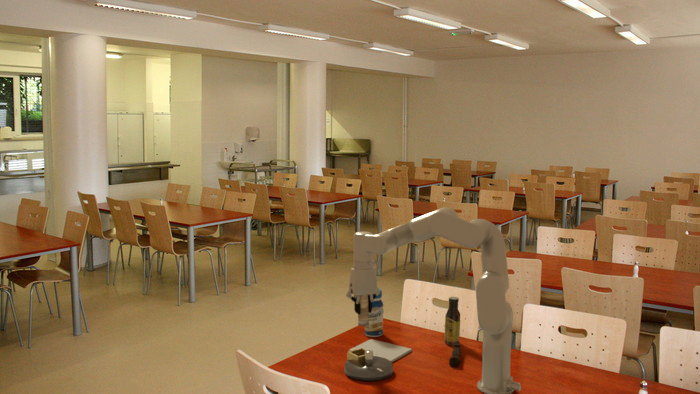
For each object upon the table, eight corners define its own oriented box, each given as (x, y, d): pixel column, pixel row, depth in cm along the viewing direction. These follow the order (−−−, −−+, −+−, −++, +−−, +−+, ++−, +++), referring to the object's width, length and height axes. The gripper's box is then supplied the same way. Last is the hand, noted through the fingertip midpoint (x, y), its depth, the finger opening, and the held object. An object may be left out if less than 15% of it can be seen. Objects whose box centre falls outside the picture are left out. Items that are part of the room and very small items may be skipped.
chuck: (402, 373, 228) (403, 353, 227) (363, 384, 218) (363, 364, 217) (373, 358, 243) (373, 340, 242) (335, 368, 233) (335, 349, 232)
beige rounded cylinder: (368, 326, 232) (368, 294, 231) (358, 326, 232) (357, 294, 231) (369, 323, 236) (368, 292, 235) (358, 323, 236) (357, 292, 235)
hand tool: (459, 368, 235) (459, 356, 234) (448, 367, 236) (449, 355, 236) (464, 351, 253) (464, 340, 253) (454, 350, 254) (454, 339, 254)
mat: (411, 351, 252) (411, 348, 252) (390, 363, 239) (390, 360, 239) (371, 341, 264) (371, 338, 263) (348, 352, 251) (348, 349, 251)
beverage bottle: (385, 332, 275) (385, 288, 273) (381, 338, 267) (381, 293, 265) (366, 330, 277) (366, 286, 275) (362, 336, 269) (362, 291, 267)
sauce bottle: (441, 342, 263) (442, 296, 260) (453, 340, 265) (454, 294, 263) (450, 347, 257) (451, 300, 255) (462, 344, 259) (463, 298, 257)
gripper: (378, 261, 238) (378, 307, 240) (338, 264, 232) (339, 312, 234) (387, 264, 232) (387, 312, 234) (347, 269, 225) (347, 318, 227)
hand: (363, 312), depth 234 cm, fingers closed on beige rounded cylinder, 4 cm apart
